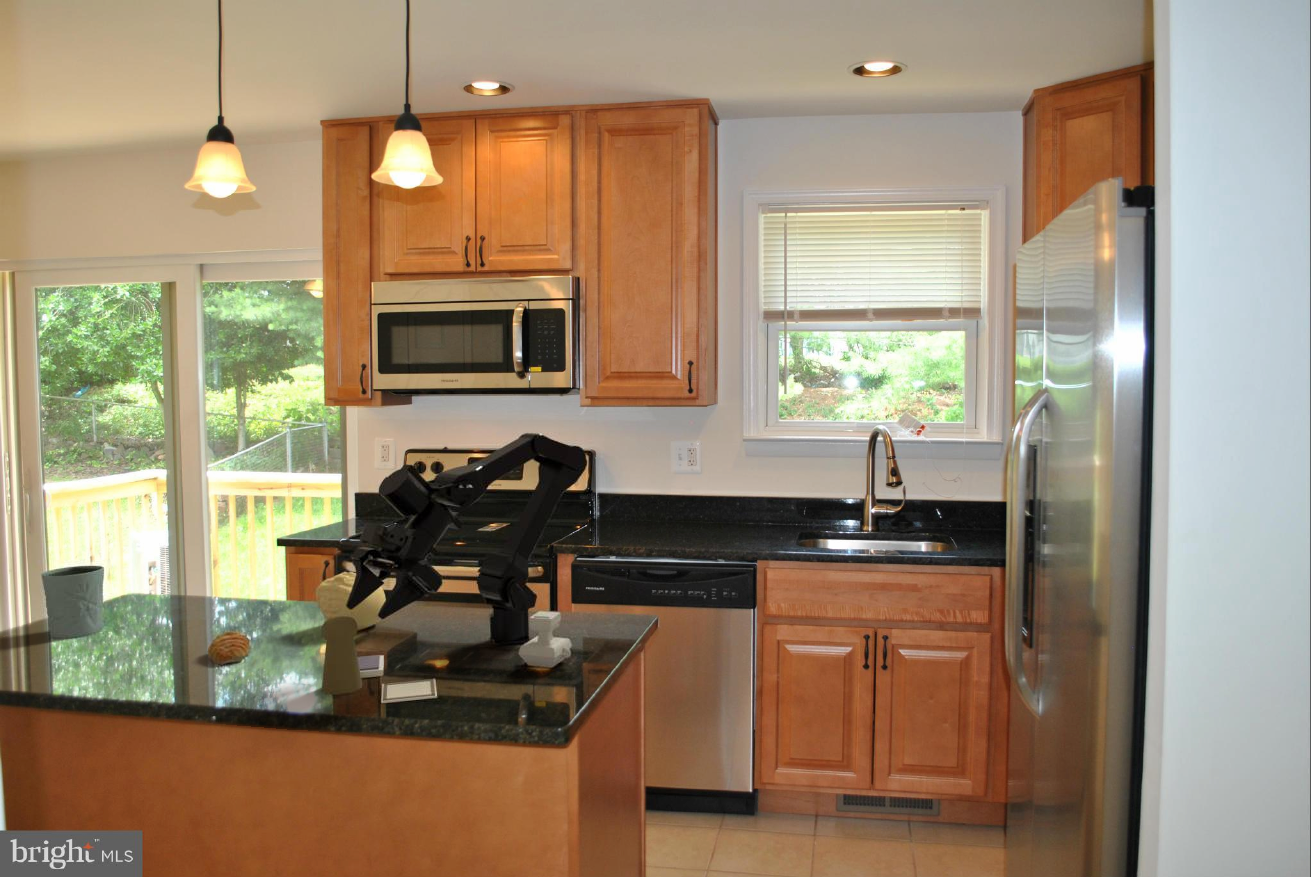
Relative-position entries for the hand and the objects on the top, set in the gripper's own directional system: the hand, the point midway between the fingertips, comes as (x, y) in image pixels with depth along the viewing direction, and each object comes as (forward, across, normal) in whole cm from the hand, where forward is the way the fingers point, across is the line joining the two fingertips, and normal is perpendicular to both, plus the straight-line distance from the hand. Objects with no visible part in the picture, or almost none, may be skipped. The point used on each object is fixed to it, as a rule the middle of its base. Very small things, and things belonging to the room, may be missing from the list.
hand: (363, 612), depth 147 cm
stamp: (-9, +16, +25) cm, 31 cm away
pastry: (+14, -30, +3) cm, 33 cm away
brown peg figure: (+11, 0, +5) cm, 12 cm away
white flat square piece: (+7, +10, +9) cm, 15 cm away
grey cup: (+22, -69, -6) cm, 73 cm away
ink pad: (+6, -6, +9) cm, 12 cm away
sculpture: (-3, -30, +19) cm, 36 cm away
